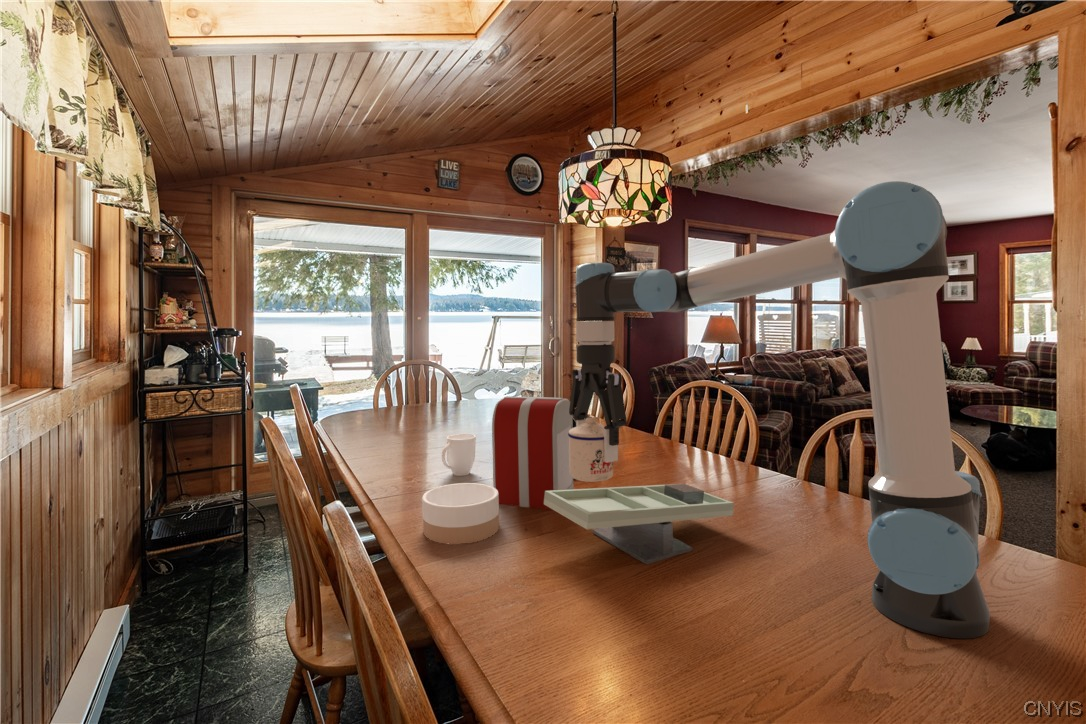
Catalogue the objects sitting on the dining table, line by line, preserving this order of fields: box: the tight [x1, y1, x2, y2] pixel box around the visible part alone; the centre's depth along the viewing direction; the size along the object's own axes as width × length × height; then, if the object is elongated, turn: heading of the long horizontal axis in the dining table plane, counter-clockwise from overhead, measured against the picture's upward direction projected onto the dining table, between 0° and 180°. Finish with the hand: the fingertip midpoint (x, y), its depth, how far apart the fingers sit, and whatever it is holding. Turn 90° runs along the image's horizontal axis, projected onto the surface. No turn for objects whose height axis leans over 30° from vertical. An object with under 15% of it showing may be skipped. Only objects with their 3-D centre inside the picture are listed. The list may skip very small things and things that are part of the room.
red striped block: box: [491, 395, 575, 511], centre depth 144 cm, size 17×18×27 cm
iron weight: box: [664, 483, 705, 505], centre depth 120 cm, size 6×6×3 cm
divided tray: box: [544, 483, 735, 530], centre depth 114 cm, size 16×38×3 cm, turn 119°
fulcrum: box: [592, 521, 693, 566], centre depth 114 cm, size 18×12×7 cm, turn 29°
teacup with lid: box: [568, 416, 614, 483], centre depth 108 cm, size 12×9×12 cm
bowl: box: [421, 482, 500, 545], centre depth 123 cm, size 17×17×8 cm
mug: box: [441, 433, 477, 477], centre depth 167 cm, size 12×9×12 cm
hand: (596, 455), depth 108 cm, fingers closed on teacup with lid, 9 cm apart
